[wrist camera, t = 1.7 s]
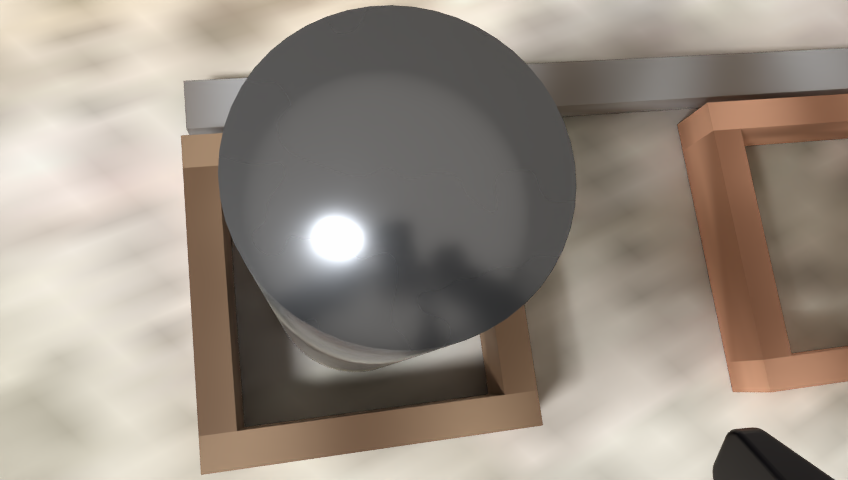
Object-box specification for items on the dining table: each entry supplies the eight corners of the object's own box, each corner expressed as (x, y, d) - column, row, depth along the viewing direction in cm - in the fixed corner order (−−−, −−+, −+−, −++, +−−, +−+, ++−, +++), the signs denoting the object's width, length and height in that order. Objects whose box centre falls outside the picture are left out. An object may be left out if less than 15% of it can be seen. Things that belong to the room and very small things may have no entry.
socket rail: (889, 57, 27) (933, 31, 25) (972, 357, 25) (1027, 355, 23) (189, 93, 22) (176, 66, 21) (212, 466, 20) (201, 474, 18)
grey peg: (466, 268, 23) (635, 131, 11) (379, 404, 21) (458, 425, 9) (336, 181, 23) (355, -57, 11) (240, 311, 21) (138, 210, 9)
